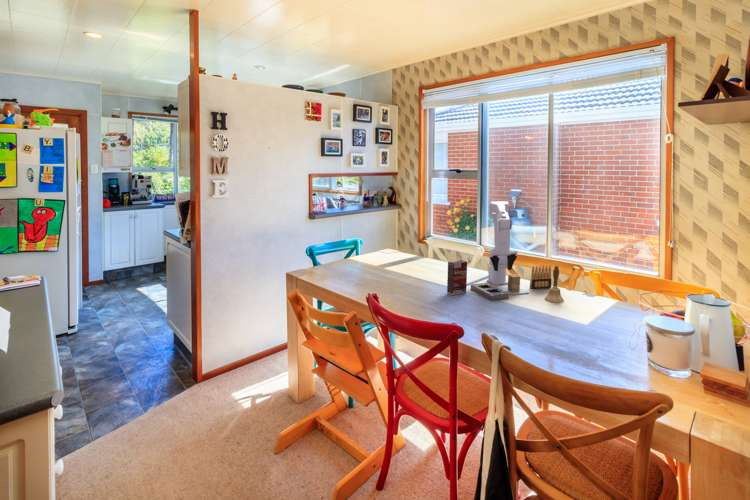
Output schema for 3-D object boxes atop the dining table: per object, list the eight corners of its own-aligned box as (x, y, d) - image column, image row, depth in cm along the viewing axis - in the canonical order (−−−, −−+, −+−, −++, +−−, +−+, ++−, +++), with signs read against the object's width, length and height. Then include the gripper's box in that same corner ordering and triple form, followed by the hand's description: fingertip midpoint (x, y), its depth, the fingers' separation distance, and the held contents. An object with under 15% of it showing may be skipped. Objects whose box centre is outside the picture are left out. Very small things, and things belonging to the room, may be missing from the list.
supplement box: (453, 295, 202) (453, 263, 199) (446, 293, 206) (447, 261, 203) (467, 293, 206) (467, 261, 202) (460, 290, 210) (461, 259, 207)
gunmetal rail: (470, 289, 212) (470, 284, 211) (486, 287, 214) (486, 282, 214) (491, 300, 193) (491, 295, 192) (508, 298, 195) (508, 293, 195)
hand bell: (567, 300, 191) (570, 266, 188) (555, 303, 187) (558, 269, 184) (552, 296, 198) (554, 263, 195) (540, 299, 194) (542, 265, 191)
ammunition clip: (531, 289, 209) (532, 266, 206) (529, 288, 211) (530, 265, 208) (551, 288, 210) (552, 265, 208) (549, 287, 212) (550, 264, 210)
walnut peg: (507, 289, 207) (508, 275, 206) (514, 289, 208) (515, 274, 207) (512, 292, 203) (513, 277, 202) (519, 291, 204) (520, 276, 203)
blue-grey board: (499, 289, 209) (499, 288, 209) (516, 288, 212) (516, 286, 212) (510, 295, 200) (510, 294, 200) (528, 293, 202) (528, 292, 202)
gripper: (494, 245, 198) (493, 273, 201) (521, 243, 202) (520, 270, 204) (487, 242, 205) (486, 270, 207) (513, 241, 209) (512, 267, 211)
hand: (502, 270), depth 206 cm, fingers open, 7 cm apart
